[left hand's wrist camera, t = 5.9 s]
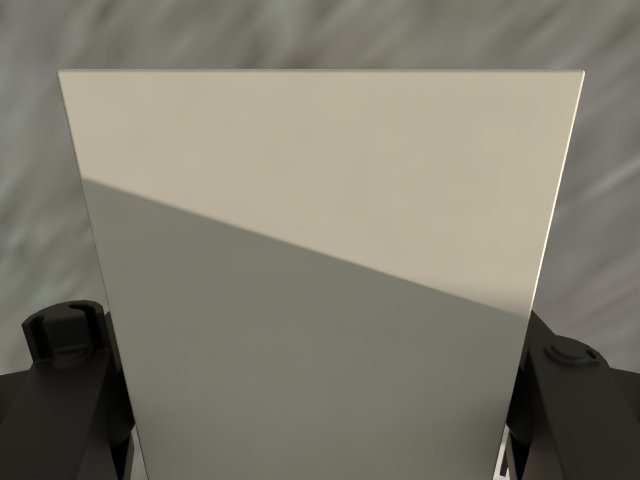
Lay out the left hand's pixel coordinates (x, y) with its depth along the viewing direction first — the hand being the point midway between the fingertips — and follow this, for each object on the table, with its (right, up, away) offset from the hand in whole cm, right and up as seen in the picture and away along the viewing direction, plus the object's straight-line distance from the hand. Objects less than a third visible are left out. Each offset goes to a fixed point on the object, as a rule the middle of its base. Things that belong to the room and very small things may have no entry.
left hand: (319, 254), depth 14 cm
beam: (0, -33, +14) cm, 35 cm away
